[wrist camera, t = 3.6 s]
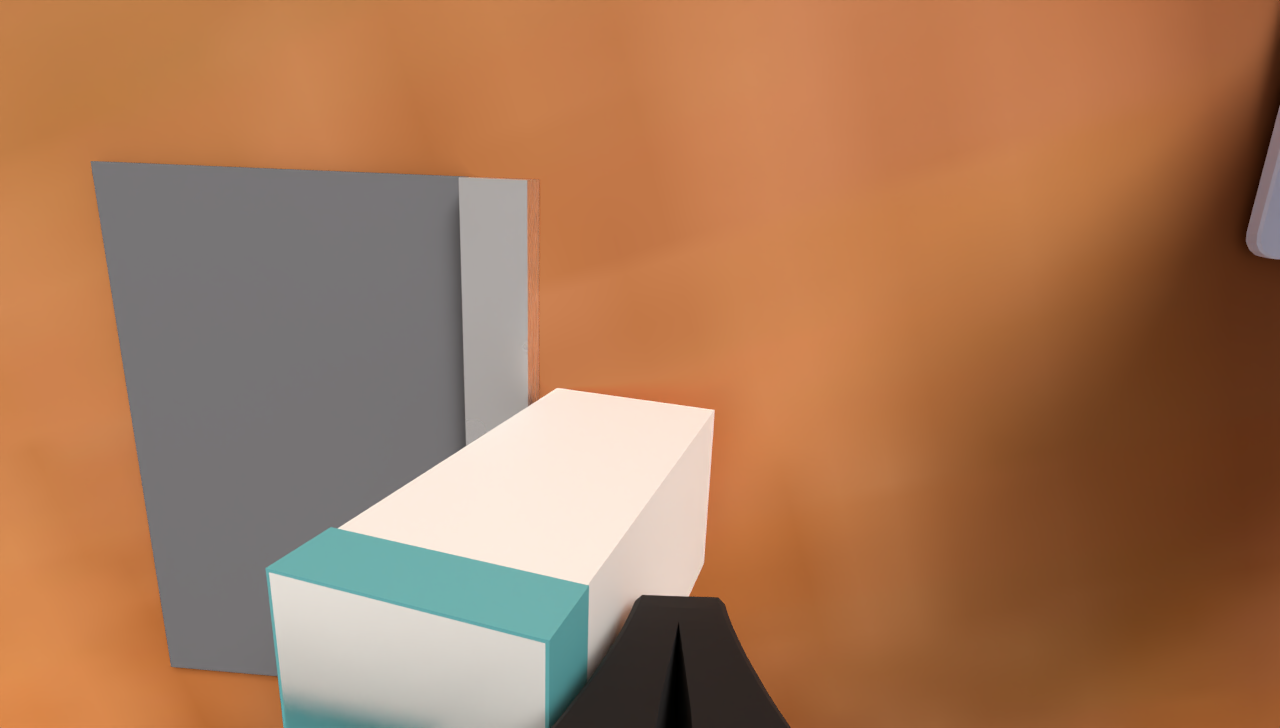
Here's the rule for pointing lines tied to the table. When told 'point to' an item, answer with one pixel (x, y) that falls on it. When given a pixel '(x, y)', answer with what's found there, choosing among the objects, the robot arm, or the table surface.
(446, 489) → the tall block
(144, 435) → the mat
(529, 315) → the stop rail
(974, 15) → the table surface
